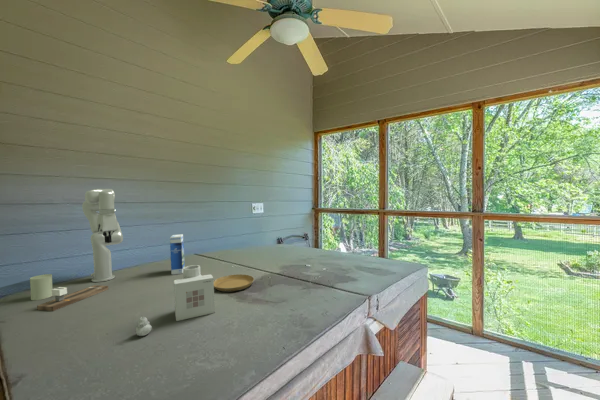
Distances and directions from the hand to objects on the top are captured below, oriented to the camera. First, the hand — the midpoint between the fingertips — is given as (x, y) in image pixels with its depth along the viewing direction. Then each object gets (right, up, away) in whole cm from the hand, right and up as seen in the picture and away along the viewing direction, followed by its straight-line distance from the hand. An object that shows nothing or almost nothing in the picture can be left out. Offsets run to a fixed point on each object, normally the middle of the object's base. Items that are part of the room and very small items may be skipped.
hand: (108, 242), depth 166 cm
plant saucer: (+76, -26, -3) cm, 80 cm away
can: (-28, -29, -13) cm, 42 cm away
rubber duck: (+54, -28, -57) cm, 83 cm away
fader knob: (-8, -26, -25) cm, 37 cm away
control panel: (+65, -27, -35) cm, 78 cm away
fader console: (-6, -28, -17) cm, 33 cm away
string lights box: (+29, -26, +30) cm, 49 cm away
